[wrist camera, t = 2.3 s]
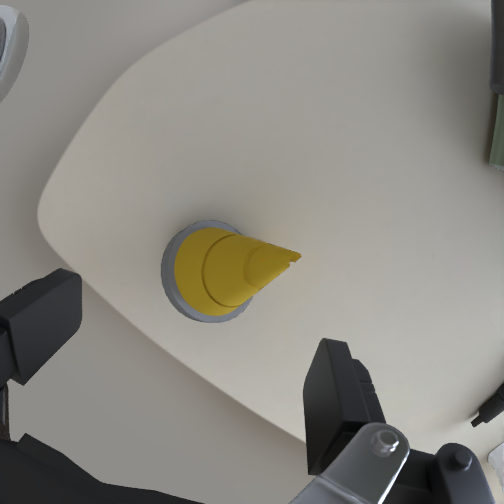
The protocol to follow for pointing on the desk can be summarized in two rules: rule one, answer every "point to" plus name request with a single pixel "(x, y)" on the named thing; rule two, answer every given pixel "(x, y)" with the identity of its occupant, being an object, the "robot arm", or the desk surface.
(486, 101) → the desk surface
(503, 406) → the micrometer
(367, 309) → the desk surface
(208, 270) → the yellow stepped cone
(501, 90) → the drawer
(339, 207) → the desk surface
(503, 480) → the perfume bottle
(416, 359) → the desk surface
